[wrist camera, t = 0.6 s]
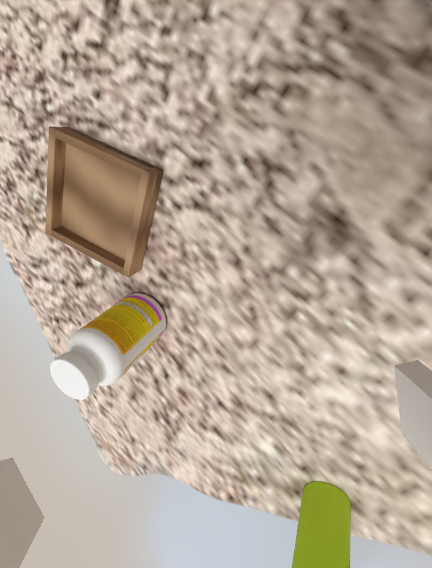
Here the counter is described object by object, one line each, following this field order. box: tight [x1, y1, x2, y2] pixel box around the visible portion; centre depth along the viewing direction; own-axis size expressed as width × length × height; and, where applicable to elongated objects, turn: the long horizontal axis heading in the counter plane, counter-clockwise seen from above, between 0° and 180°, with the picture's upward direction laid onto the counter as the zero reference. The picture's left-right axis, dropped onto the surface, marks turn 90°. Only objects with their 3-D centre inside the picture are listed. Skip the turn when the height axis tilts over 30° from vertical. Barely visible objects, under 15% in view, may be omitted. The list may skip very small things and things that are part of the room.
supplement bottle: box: [50, 293, 166, 400], centre depth 35 cm, size 7×7×13 cm
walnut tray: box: [46, 127, 163, 277], centre depth 34 cm, size 12×12×2 cm
